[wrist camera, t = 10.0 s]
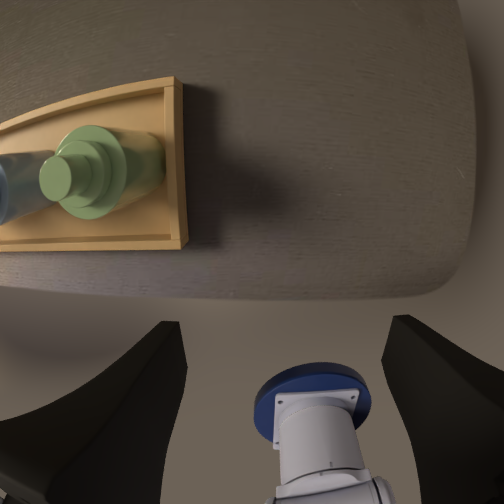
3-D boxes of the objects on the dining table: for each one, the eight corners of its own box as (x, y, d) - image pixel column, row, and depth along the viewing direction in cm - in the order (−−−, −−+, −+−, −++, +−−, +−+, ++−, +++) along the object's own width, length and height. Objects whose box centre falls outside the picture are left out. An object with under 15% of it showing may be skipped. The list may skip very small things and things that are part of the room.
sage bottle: (169, 197, 18) (105, 231, 10) (108, 201, 18) (26, 235, 10) (166, 126, 17) (97, 112, 9) (104, 135, 17) (16, 135, 9)
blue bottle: (68, 205, 18) (-16, 239, 10) (28, 210, 19) (-50, 241, 11) (63, 144, 17) (-26, 152, 9) (23, 155, 17) (-59, 168, 9)
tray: (189, 240, 19) (181, 249, 18) (-18, 246, 20) (-31, 252, 18) (183, 83, 16) (174, 75, 14) (-29, 143, 17) (-44, 144, 15)
